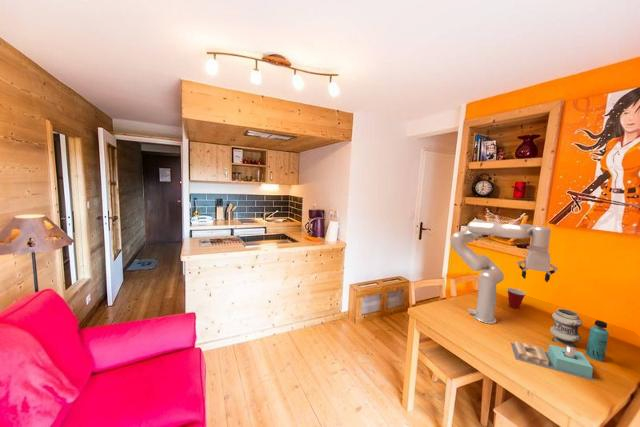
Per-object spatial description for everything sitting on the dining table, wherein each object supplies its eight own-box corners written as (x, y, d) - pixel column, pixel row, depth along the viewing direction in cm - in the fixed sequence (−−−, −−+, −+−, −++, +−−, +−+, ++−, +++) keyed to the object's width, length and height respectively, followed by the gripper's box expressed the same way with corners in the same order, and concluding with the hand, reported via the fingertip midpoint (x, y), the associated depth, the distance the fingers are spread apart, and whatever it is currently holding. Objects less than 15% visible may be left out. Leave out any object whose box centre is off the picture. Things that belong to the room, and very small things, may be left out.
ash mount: (518, 357, 126) (519, 353, 126) (514, 345, 136) (515, 341, 135) (548, 365, 121) (548, 360, 121) (541, 352, 131) (542, 348, 130)
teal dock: (555, 368, 119) (556, 358, 119) (547, 353, 130) (549, 344, 129) (591, 378, 114) (593, 367, 113) (580, 362, 124) (581, 352, 124)
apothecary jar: (549, 334, 150) (554, 304, 148) (579, 343, 141) (584, 312, 139) (547, 342, 141) (552, 311, 139) (578, 353, 133) (584, 320, 131)
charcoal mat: (515, 362, 125) (515, 359, 125) (510, 345, 138) (510, 342, 138) (595, 384, 112) (596, 381, 112) (581, 363, 125) (581, 361, 125)
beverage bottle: (581, 355, 131) (587, 318, 129) (593, 355, 132) (599, 318, 130) (595, 364, 125) (602, 325, 123) (608, 364, 125) (615, 325, 123)
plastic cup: (527, 311, 177) (529, 294, 175) (509, 309, 179) (511, 292, 178) (519, 304, 187) (521, 288, 186) (502, 302, 190) (504, 286, 188)
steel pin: (564, 366, 121) (567, 348, 120) (562, 361, 124) (564, 344, 123) (573, 368, 120) (576, 350, 118) (570, 364, 122) (573, 346, 121)
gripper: (520, 248, 142) (516, 278, 144) (562, 253, 134) (557, 285, 136) (517, 245, 148) (514, 274, 151) (557, 250, 140) (553, 280, 142)
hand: (534, 279), depth 143 cm, fingers open, 9 cm apart
